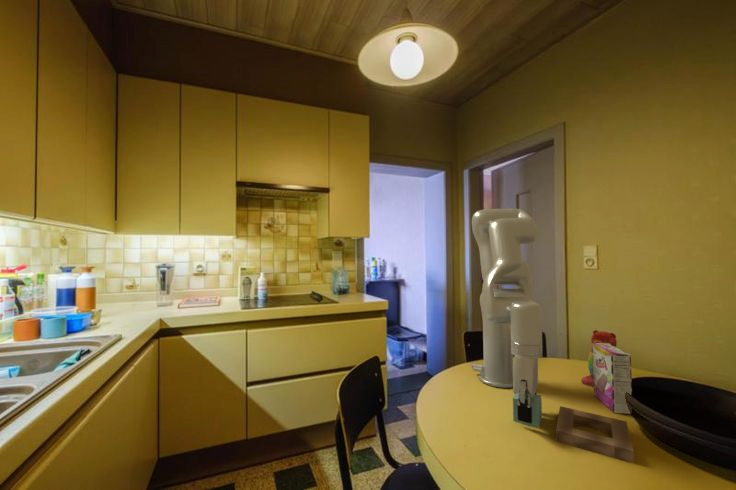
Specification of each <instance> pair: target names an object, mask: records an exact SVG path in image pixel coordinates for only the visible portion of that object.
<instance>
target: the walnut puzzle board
mask: <svg viewBox="0 0 736 490" xmlns="http://www.w3.org/2000/svg"><path fill="white" fill-rule="evenodd" d="M557 415H558V417H557V423H556V429H555V432H556V433H555V434H556V442H558V443H562V444H565V445H568V446H569V445H570V446H572V447H577V448H579V449H583V450H587V451H590V452H593V453H597V454H599V455H600V454H601V455H603V456H604V455H605V456H608V457H611V458H614V459H617V460H622V461H626V462H629V463H632V464H634V463H635V459H634V458H635V456H634V455H635V454H634V453H635V452H634V448H633V444H632V443H633V442H632V440H631V436H630V431H629V426H628V423H627V421H626V420H622V419H617V418H614V417H609V416H604V415H600V414H595V413H593V412H588V411H583V410H579V409H575V408H570V407H565V406H562V405H559V411H558V414H557ZM575 425H576V426H580V427H582V428H583V427H584V428H587V429H592V430H595V431H600V432H603V433H605V434H606V433H607V434H610V436H611V437H608V436H605V435H600V434H596V433H593V432H590V431H586V430H585V431H584V430H581V429H578V428H574V427H575Z"/></svg>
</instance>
